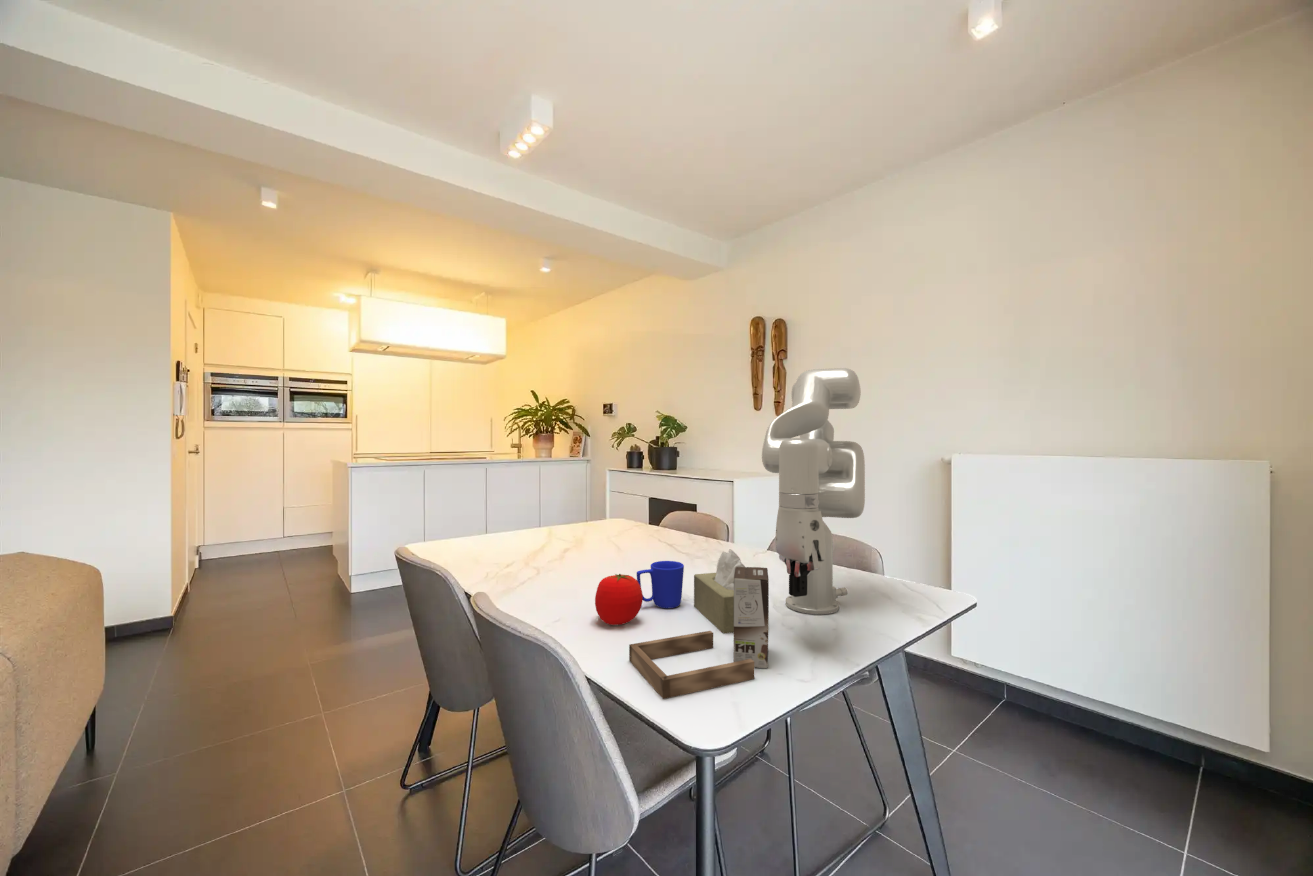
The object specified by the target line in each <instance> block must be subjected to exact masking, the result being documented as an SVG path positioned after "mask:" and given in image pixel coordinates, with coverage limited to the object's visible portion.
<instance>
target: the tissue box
mask: <svg viewBox="0 0 1313 876" xmlns="http://www.w3.org/2000/svg"><path fill="white" fill-rule="evenodd" d="M736 567H746V566H745V564H743V562H742V560H741V558H740V557H739V555H738V554H737V553H736V552H735V551H734V550H733V549H729V550H728V551H727V552H726V551H722V552H721V554H720V555H719V558H718V561H717V565H716V572H708V573H707V572H705V573H695V574H693V607H694V608H695V609H696V610H697V611H698V612H699V613H701V614H702V615H703V616H704V617H705V618H706V619H707V620H708V621H709V622H710V623H711V624H712V625H714V627H715V628H717V629H718V630H719V631H720V632H721V633H722V634H732V633H733V634H734V573H735V568H736Z"/></svg>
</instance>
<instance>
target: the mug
mask: <svg viewBox="0 0 1313 876" xmlns="http://www.w3.org/2000/svg"><path fill="white" fill-rule="evenodd" d="M684 571H685V564H684V563H682V562H679V561H675V560H660V561H659V560H658V561H655V562H652V563H651V564H650V568H649V569H641V570H637V571H636V580H637V581H638V583H639V585H640V587H641V588H642V585H641V583H642V582H641V575H643V574H649V576H650V580H651V581H650V582H651V596H650V597H649V598H646V597H644V595H643V601H642V602H646V603H647V602H648V603H649V602H651V601H653V603H654V605H655V606H656V607H657V608H662V609H673V608H677V607H678V606H680V605H681V602H682V598H683V582H684V581H683V580H684V573H685V572H684Z"/></svg>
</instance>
